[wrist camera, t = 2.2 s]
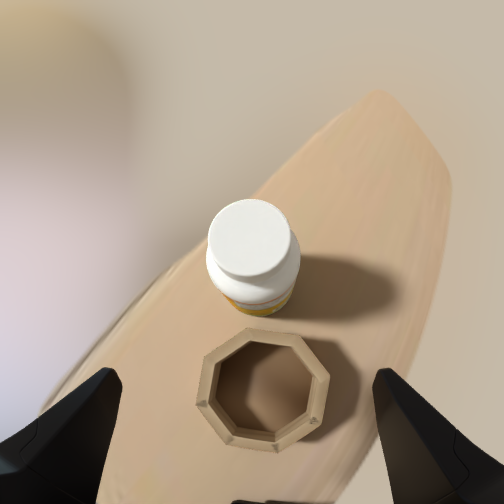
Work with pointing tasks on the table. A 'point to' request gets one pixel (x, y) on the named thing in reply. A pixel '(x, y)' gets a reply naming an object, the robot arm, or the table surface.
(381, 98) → the table surface
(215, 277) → the supplement bottle
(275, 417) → the can holder
